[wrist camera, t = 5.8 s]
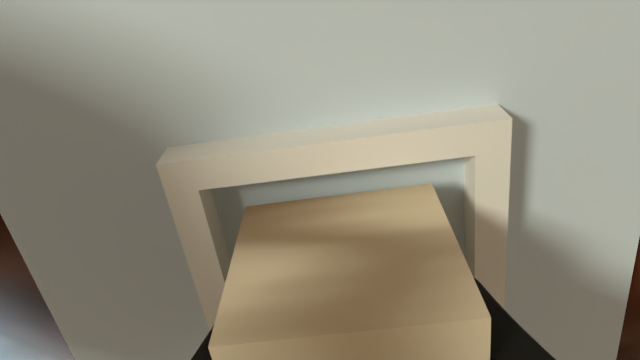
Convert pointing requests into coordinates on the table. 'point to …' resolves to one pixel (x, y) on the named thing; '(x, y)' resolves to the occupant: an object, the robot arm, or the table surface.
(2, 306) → the table surface
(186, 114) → the board
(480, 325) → the maple cube
